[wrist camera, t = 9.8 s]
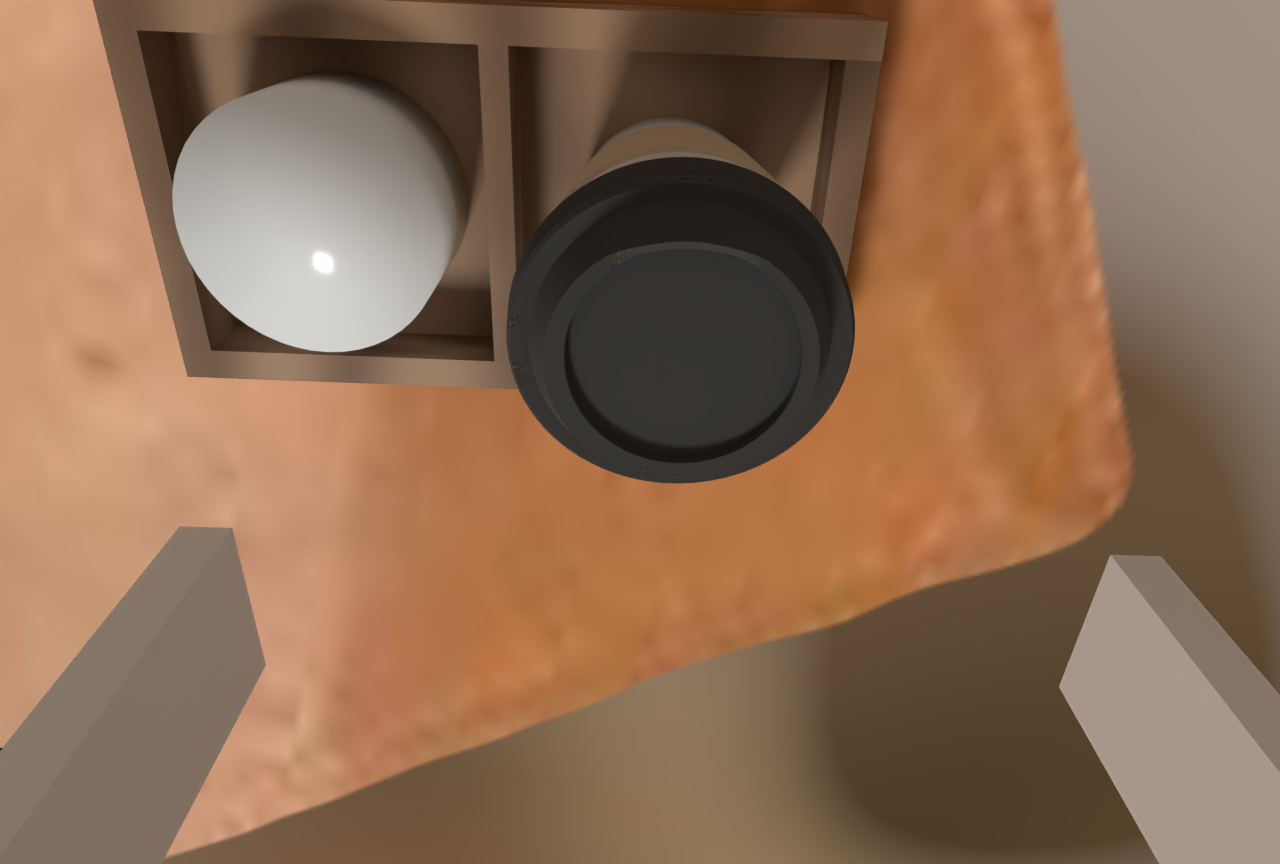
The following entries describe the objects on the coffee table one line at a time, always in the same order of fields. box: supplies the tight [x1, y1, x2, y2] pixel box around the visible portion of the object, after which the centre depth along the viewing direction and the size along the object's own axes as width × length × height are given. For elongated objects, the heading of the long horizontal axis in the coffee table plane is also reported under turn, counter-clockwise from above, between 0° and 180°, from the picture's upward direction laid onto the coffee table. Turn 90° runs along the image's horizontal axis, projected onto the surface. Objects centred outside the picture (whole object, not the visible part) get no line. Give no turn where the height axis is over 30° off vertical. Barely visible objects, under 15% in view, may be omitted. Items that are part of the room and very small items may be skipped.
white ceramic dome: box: [172, 70, 468, 352], centre depth 31 cm, size 9×9×5 cm
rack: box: [93, 0, 888, 389], centre depth 33 cm, size 26×14×4 cm, turn 88°
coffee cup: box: [506, 117, 855, 483], centre depth 27 cm, size 9×9×15 cm
